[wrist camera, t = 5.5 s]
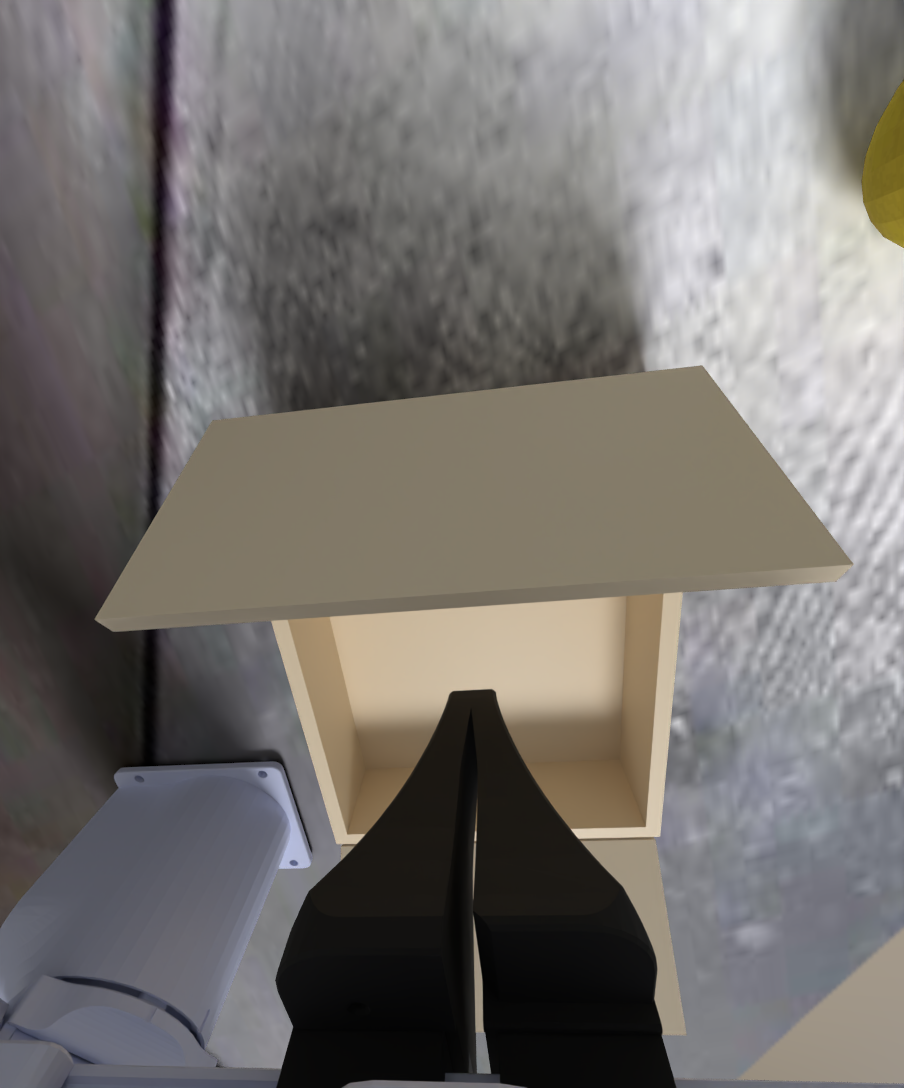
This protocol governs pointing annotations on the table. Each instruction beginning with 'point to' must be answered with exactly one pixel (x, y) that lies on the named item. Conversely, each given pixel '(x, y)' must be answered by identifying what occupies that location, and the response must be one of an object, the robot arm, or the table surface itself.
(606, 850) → the far flap
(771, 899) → the table surface
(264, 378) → the table surface
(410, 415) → the near flap
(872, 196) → the lemon
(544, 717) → the carton
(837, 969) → the table surface
